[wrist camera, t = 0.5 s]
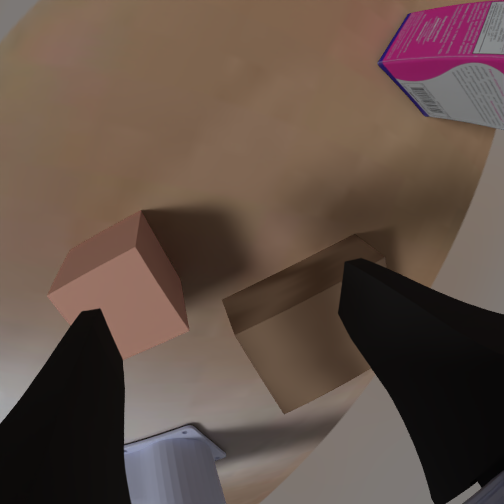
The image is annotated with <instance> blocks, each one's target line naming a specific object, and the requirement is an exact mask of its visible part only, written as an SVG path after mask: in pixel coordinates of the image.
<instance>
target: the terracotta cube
mask: <svg viewBox="0 0 504 504" xmlns="http://www.w3.org/2000/svg"><path fill="white" fill-rule="evenodd" d="M47 296H48V298H49V299H50V300H51V302H52V303H53V304H54V306H55V307H56V308H57V309H58V311H59V312H60V313H61V314H62V316H63V317H64V318H65V319H66V321H67V322H68V323H69V324H70V325H72V323H73V322H74V321H75V319H76V318H77V316H78V315H79V314H80V313H81V311H87V310H93V309H99V308H101V310H102V313H103V315H104V318H105V320H106V323H107V325H108V327H109V330H110V332H111V334H112V336H113V339H114V341H115V343H116V345H117V348H118V350H119V352H120V354H121V356H122V358H123V360H124V359H127V358H129V357H131V356H134V355H136V354H138V353H141V352H143V351H145V350H147V349H150V348H152V347H154V346H157V345H159V344H161V343H163V342H166V341H168V340H170V339H172V338H174V337H177V336H179V335H181V334H183V333H185V332H188V331H189V325H188V320H187V314H186V308H185V303H184V297H183V291H182V284H181V279H180V278H179V276H178V274H177V273H176V271H175V269H174V268H173V266H172V264H171V263H170V261H169V259H168V257H167V256H166V254H165V252H164V250H163V249H162V247H161V245H160V243H159V242H158V240H157V238H156V236H155V235H154V233H153V231H152V229H151V227H150V226H149V224H148V222H147V220H146V218H145V216H144V215H143V213H142V211H141V210H140V211H139V212H137V213H135V214H133V215H131V216H129V217H127V218H125V219H124V220H122V221H120V222H118V223H116V224H114V225H113V226H111V227H109V228H107V229H105V230H104V231H102V232H100V233H98V234H96V235H95V236H93V237H91V238H89V239H88V240H86V241H84V242H83V243H81V244H79V245H77V246H76V247H74V248H72V249H71V250H70V251H69V253H68V254H67V256H66V258H65V260H64V262H63V264H62V266H61V268H60V270H59V272H58V274H57V276H56V278H55V280H54V282H53V284H52V286H51V288H50V290H49V292H48V294H47Z"/></svg>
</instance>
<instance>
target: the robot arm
mask: <svg viewBox="0 0 504 504" xmlns="http://www.w3.org/2000/svg"><path fill="white" fill-rule="evenodd" d="M338 315H339V317H340V319H341V321H342V323H343V325H344V327H345V329H346V331H347V332H348V334H349V336H350V338H351V340H352V341H353V343H354V344H355V346H356V347H357V348H358V350H359V351H360V353H361V354H362V356H363V357H364V359H365V360H366V361H367V363H368V364H369V366H370V367H371V368H372V370H373V371H374V373H375V374H376V376H377V377H378V378H379V380H380V381H381V383H382V384H383V386H384V387H385V389H386V390H387V391H388V393H389V395H390V397H391V398H392V400H393V401H394V404H395V406H396V408H397V409H398V411H399V413H400V415H401V417H402V419H403V421H404V423H405V425H406V428H407V430H408V432H409V434H410V437H411V439H412V441H413V443H414V446H415V448H416V451H417V454H418V456H419V459H420V462H421V464H422V467H423V470H424V473H425V477H426V480H427V483H428V487H429V490H430V494H431V498H432V500H433V502H434V504H446V503H447V502H449V501H450V500H452V499H453V498H455V497H457V496H458V495H459V494H461V493H462V492H464V491H465V490H467V489H468V488H470V487H471V486H472V485H473V484H475V483H476V482H478V483H479V484H480V486H481V489H480V490H479V491H478V492H476V493H475V494H474V495H473V496H471V497H470V498H469V499H468V500H466V501H465V502H464V503H463V504H504V314H499V313H496V312H492V311H488V310H486V309H482V308H479V307H476V306H474V305H470V304H467V303H465V302H462V301H459V300H457V299H454V298H452V297H449V296H447V295H445V294H442V293H440V292H437V291H435V290H433V289H431V288H428V287H426V286H424V285H422V284H420V283H417V282H415V281H413V280H411V279H409V278H407V277H405V276H402V275H400V274H398V273H396V272H394V271H392V270H390V269H387V268H385V267H383V266H381V265H378V264H376V263H374V262H371V261H369V260H366V259H363V258H358V259H354V260H349V261H345V262H344V271H343V279H342V287H341V294H340V302H339V309H338ZM124 403H125V384H124V371H123V358H122V356H121V354H120V352H119V350H118V348H117V345H116V343H115V341H114V339H113V336H112V334H111V332H110V330H109V327H108V325H107V323H106V320H105V318H104V315H103V313H102V310H101V308H99V309H93V310H87V311H81V313H80V314H79V315H78V316H77V318H76V319H75V321H74V322H73V323H72V325H71V326H70V328H69V329H68V331H67V332H66V334H65V335H64V337H63V338H62V340H61V341H60V343H59V344H58V345H57V347H56V348H55V350H54V351H53V353H52V354H51V356H50V357H49V359H48V360H47V362H46V363H45V365H44V366H43V368H42V369H41V370H40V372H39V373H38V375H37V376H36V377H35V379H34V380H33V382H32V383H31V385H30V386H29V388H28V389H27V390H26V392H25V393H24V395H23V396H22V397H21V399H20V400H19V401H18V402H17V404H16V405H15V406H14V408H13V409H12V410H11V411H10V413H9V414H8V415H7V416H6V418H5V419H4V420H3V421H2V422H1V424H0V504H226V501H225V498H224V494H223V491H222V487H221V484H220V480H219V477H218V473H217V469H216V465H215V462H214V461H216V460H219V459H222V458H225V457H226V453H225V452H224V451H223V450H221V449H220V448H219V447H218V446H216V445H215V444H214V443H213V442H212V441H210V440H209V439H208V438H207V437H206V436H204V435H203V434H202V433H201V432H200V431H199V430H197V429H196V428H195V427H194V426H192V425H187V426H184V427H181V428H178V429H176V430H173V431H170V432H167V433H164V434H161V435H158V436H154V437H151V438H148V439H145V440H142V441H138V442H135V443H131V444H128V445H124Z"/></svg>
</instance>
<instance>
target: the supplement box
mask: <svg viewBox="0 0 504 504" xmlns="http://www.w3.org/2000/svg"><path fill="white" fill-rule="evenodd" d="M377 64H378V65H379V67H380V68H381V69H382V70H383V71H384V72H385V73H386V74H387V75H388V76H389V77H390V78H391V79H392V80H393V81H394V82H395V83H396V84H397V85H398V86H399V87H400V89H401V90H402V91H403V92H404V93H405V94H406V95H407V96H408V97H409V98H410V100H411V101H412V102H413V103H414V104H415V105H416V107H417V108H418V109H419V110H420V111H421V112H422V114H423V115H424V116H425V117H436V118H443V119H450V120H456V121H462V122H467V123H473V124H478V125H483V126H488V127H492V128H497V129H501V130H504V0H498V1H485V2H476V3H467V4H460V5H452V6H446V7H440V8H434V9H429V10H424V11H419V12H414V13H409V14H408V15H407V17H406V18H405V20H404V21H403V23H402V25H401V26H400V28H399V29H398V31H397V33H396V34H395V36H394V37H393V39H392V40H391V42H390V44H389V45H388V47H387V49H386V50H385V52H384V53H383V55H382V57H381V58H380V59H379V61H378V63H377Z"/></svg>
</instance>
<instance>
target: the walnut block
mask: <svg viewBox="0 0 504 504" xmlns="http://www.w3.org/2000/svg"><path fill="white" fill-rule="evenodd" d="M358 258H363V259H366V260H369V261H371V262H374V263H376V264H378V265H381V266H383V267H385V268H387V267H386V259H385V256H383V255H382V254H381V253H379V252H378V251H377V250H375V249H374V248H373V247H371V246H370V245H369V244H367V243H366V242H365V241H363V240H362V239H360V238H359V237H358V236H356V235H355V234H354V235H352V236H350V237H348V238H346V239H344V240H342V241H340V242H338V243H336V244H334V245H332V246H330V247H328V248H326V249H324V250H322V251H320V252H318V253H316V254H314V255H312V256H310V257H308V258H306V259H304V260H302V261H300V262H298V263H296V264H294V265H292V266H290V267H288V268H286V269H284V270H282V271H280V272H278V273H276V274H274V275H272V276H270V277H268V278H266V279H264V280H262V281H260V282H258V283H256V284H254V285H252V286H250V287H248V288H246V289H244V290H241V291H239V292H237V293H235V294H233V295H231V296H229V297H227V298H225V299H223V300H222V301H223V304H224V307H225V309H226V312H227V315H228V318H229V321H230V323H231V326H232V329H233V332H234V334H235V336H236V338H237V340H238V341H239V343H240V345H241V346H242V348H243V350H244V351H245V353H246V355H247V356H248V358H249V359H250V361H251V363H252V364H253V366H254V368H255V369H256V371H257V372H258V374H259V376H260V377H261V379H262V380H263V382H264V384H265V385H266V387H267V388H268V390H269V392H270V393H271V395H272V396H273V398H274V399H275V401H276V402H277V404H278V406H279V407H280V409H281V410H282V412H283V413H284V414H286V413H288V412H290V411H292V410H294V409H296V408H298V407H300V406H303V405H305V404H307V403H309V402H311V401H313V400H315V399H316V398H318V397H320V396H322V395H324V394H326V393H328V392H330V391H332V390H334V389H335V388H337V387H339V386H341V385H343V384H345V383H346V382H348V381H350V380H352V379H353V378H355V377H357V376H359V375H360V374H362V373H364V372H365V371H367V370H369V369H370V368H371V367H370V366H369V364H368V363H367V361H366V360H365V359H364V357H363V356H362V354H361V353H360V351H359V350H358V348H357V347H356V346H355V344H354V343H353V341H352V340H351V338H350V336H349V334H348V332H347V331H346V329H345V327H344V325H343V323H342V321H341V319H340V317H339V315H338V309H339V302H340V294H341V287H342V279H343V271H344V262H345V261H349V260H354V259H358Z"/></svg>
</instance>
